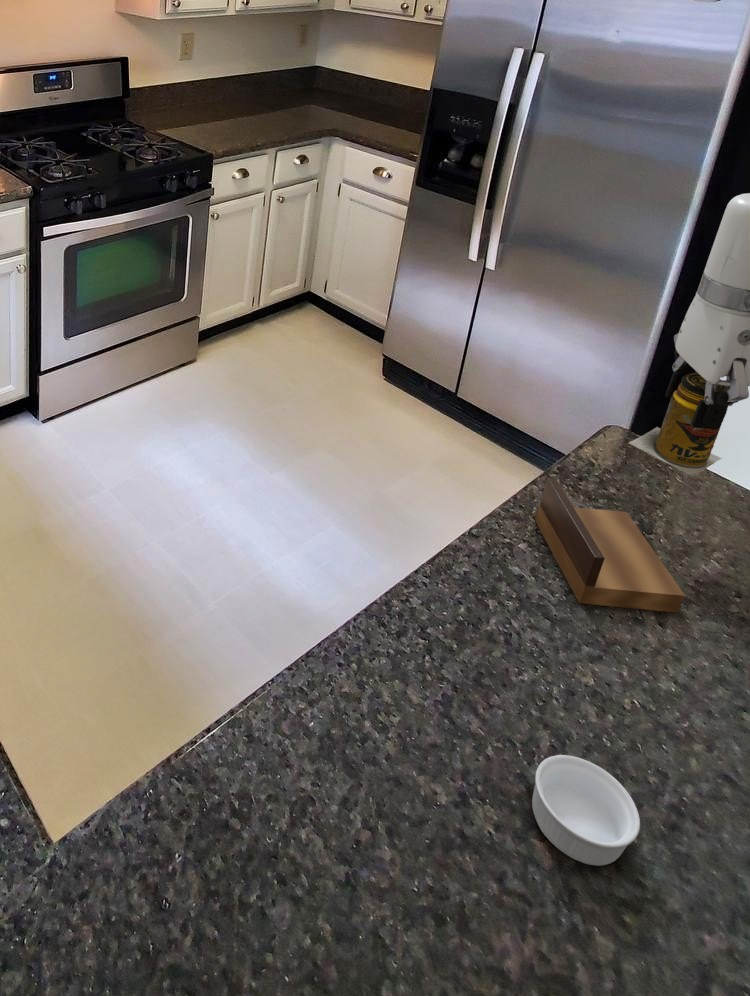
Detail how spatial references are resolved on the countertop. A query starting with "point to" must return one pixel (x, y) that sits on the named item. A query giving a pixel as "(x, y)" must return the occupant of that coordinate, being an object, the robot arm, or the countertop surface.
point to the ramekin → (583, 810)
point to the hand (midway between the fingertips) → (691, 411)
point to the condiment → (683, 430)
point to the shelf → (604, 555)
